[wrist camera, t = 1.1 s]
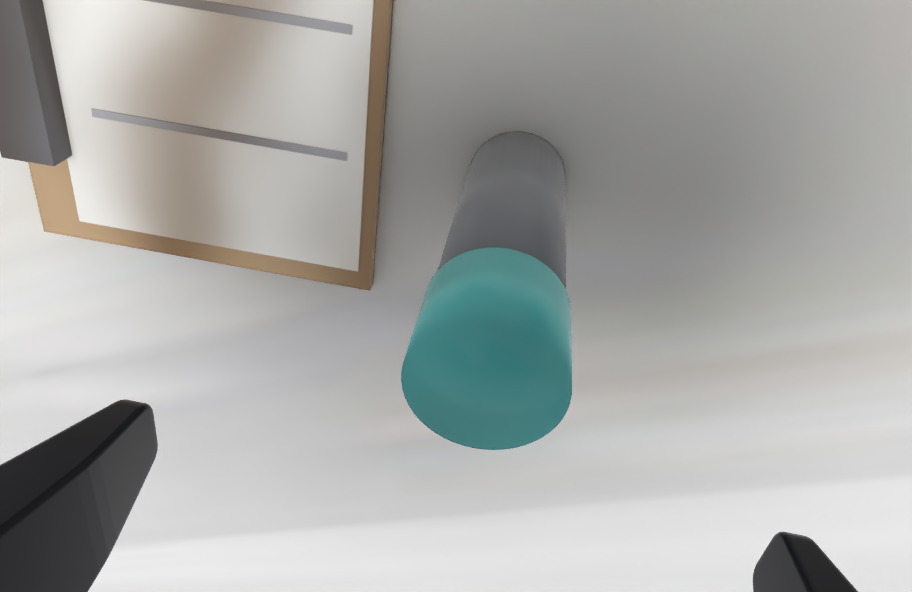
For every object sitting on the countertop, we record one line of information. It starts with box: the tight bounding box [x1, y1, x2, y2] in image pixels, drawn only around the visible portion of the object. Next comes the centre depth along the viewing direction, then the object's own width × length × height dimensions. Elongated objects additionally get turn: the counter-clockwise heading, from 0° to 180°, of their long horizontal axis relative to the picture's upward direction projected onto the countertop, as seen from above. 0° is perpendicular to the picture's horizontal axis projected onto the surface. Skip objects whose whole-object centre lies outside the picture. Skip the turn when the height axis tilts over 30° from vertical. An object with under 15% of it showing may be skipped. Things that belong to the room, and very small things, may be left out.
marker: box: [401, 132, 572, 450], centre depth 16 cm, size 3×3×9 cm
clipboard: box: [0, 0, 393, 290], centre depth 19 cm, size 11×12×1 cm
